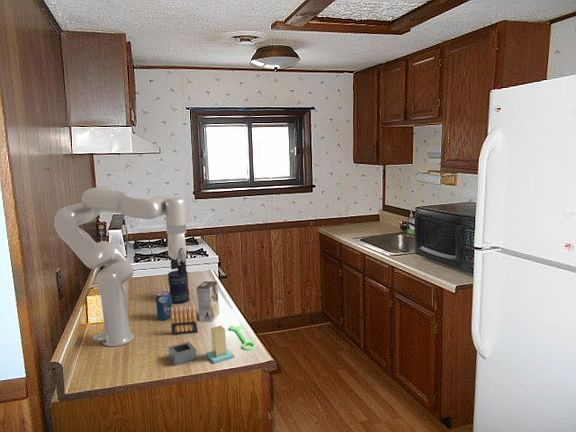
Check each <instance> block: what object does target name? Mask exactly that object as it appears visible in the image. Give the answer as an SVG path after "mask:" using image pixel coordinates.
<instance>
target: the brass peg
mask: <svg viewBox="0 0 576 432" xmlns="http://www.w3.org/2000/svg"><path fill="white" fill-rule="evenodd" d="M210 333H211V334H210V336H211V347H212V348H211V349H212V351H213V354H214V355H215V356H216V357H220V356H223V355H227V352H226V348H227V340H226V338H227V337H226V329H225V328H224V327H223V326H222V325H218V326H213V327H210Z"/></svg>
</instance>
